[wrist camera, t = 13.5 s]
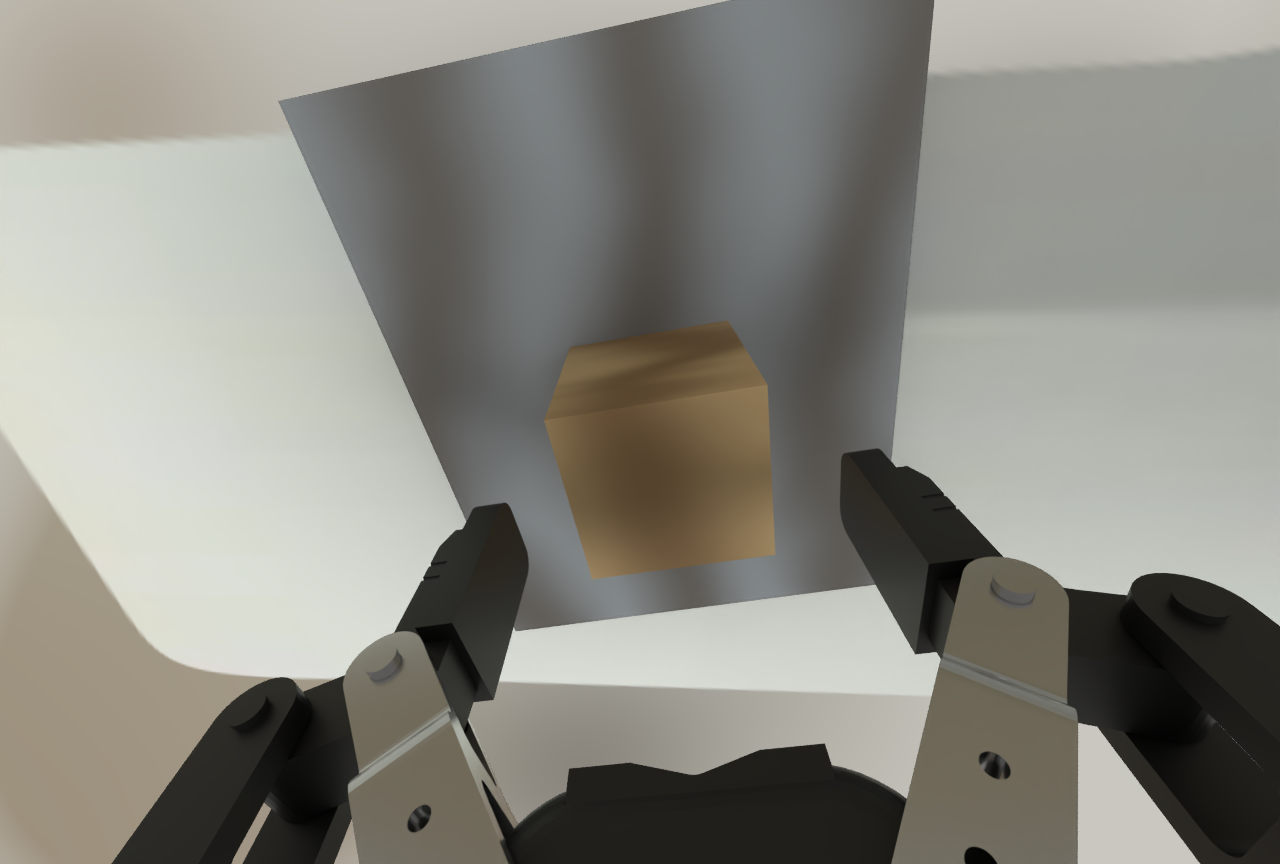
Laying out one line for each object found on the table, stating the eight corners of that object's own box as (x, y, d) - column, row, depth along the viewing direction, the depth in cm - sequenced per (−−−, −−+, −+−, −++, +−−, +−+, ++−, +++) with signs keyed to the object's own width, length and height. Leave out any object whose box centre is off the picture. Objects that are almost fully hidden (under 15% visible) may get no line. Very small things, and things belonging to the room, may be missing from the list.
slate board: (911, -27, 12) (938, -47, 11) (867, 563, 21) (879, 583, 20) (307, 106, 13) (278, 101, 12) (521, 609, 23) (515, 631, 22)
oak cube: (727, 320, 15) (767, 384, 10) (739, 455, 17) (775, 554, 13) (569, 347, 15) (543, 420, 11) (602, 476, 18) (592, 579, 13)
